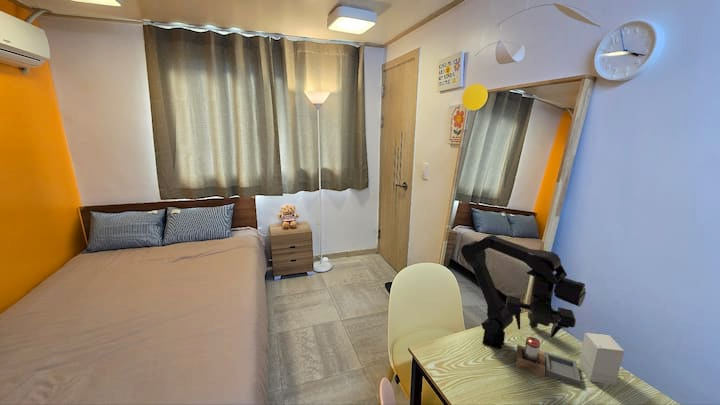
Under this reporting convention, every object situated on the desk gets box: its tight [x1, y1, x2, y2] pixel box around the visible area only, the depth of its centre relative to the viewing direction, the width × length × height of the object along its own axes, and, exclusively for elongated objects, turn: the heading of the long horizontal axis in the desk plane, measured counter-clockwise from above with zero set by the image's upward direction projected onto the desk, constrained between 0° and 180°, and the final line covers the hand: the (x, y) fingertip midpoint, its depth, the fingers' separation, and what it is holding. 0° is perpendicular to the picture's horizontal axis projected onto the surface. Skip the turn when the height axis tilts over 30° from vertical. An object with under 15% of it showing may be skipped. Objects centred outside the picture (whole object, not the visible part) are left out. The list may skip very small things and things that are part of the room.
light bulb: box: [527, 295, 539, 329], centre depth 114 cm, size 6×6×15 cm
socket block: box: [515, 344, 546, 377], centre depth 98 cm, size 8×8×3 cm
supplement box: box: [578, 332, 625, 385], centre depth 93 cm, size 7×7×13 cm
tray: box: [543, 351, 581, 387], centre depth 96 cm, size 9×9×2 cm
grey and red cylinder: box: [522, 336, 541, 363], centre depth 97 cm, size 4×4×9 cm
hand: (534, 332), depth 96 cm, fingers open, 9 cm apart
